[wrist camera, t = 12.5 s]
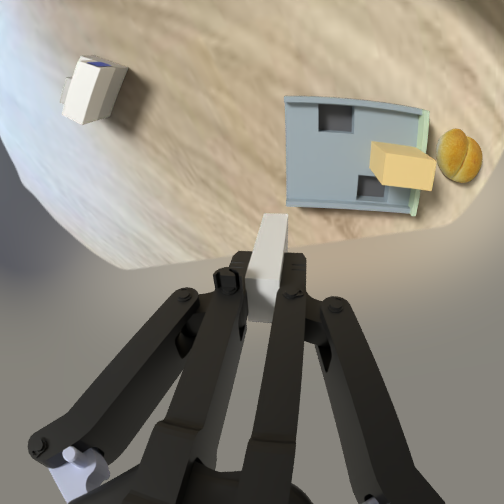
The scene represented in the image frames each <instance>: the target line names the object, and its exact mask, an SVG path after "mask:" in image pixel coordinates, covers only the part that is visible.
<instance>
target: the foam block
mask: <svg viewBox="0 0 504 504" xmlns="http://www.w3.org/2000/svg"><path fill="white" fill-rule="evenodd" d="M112 66H113V67H112ZM127 70H128V67H126V66H123V65H120V64H118V63H115V62H112V61H109V60H106V59H104V58H101V57H98V56H95V55H84V56H80V59H79V61H78V62H77V65H76V68H75V71H74V74H73V77H66V81H65V84H64V87H63V91H62V94H61V98H60V103H62V104H64V108H63V112H62V115H63V116H65V117H67V118H69V119H71V120H73V121H75V122H77V123H79V124H81V125H84V124H87V123H90V122H93V121H96V120H100V119H104V118H107V117H110V115H111V112H112V109H113V106H114V103H115V100H116V98H117V95H118V92H119V90H120V87H121V85H122V82H123V80H124V77H125V75H126V72H127ZM114 71H115V72H114ZM112 76H113V77H112ZM110 81H111V82H110ZM107 89H108V90H107Z"/></svg>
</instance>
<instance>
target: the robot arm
mask: <svg viewBox="0 0 504 504" xmlns="http://www.w3.org/2000/svg"><path fill="white" fill-rule="evenodd" d="M287 252H288V214H273V213H264V215H263V219H262V222H261V225H260V229H259V232H258V235H257V239H256V242H255V245H254V249H253V252H251V251H238V252H237V253H236V254H235V255H234V256H233V257H232V260H231V263H230V265H229V267H224V268H221V269H218V270H217V271H215V273H214V274H213V278H214V284H215V291H213V292H211V293H206V294H199V295H198V292H197V291H196V290H195V289H193V288H188V287H186V288H181V289H178V290H176V291H175V292H174V293H173V294H172V295H171V296H170V297H169V298H168V299H167V300H166V301H165V302H164V303H163V304H162V306H161V307H160V308H159V309H158V310H157V311H156V312H155V313H154V314H153V316H152V317H151V318H150V319H149V320H148V321H147V322H146V323H145V324H144V325H143V326H142V328H141V329H140V330H139V331H138V332H137V333H136V334H135V335H134V336H133V338H132V339H131V340H130V341H129V342H128V343H127V344H126V345H125V347H124V348H123V349H122V350H121V351H120V352H119V353H118V354H117V356H116V357H115V358H114V359H113V360H112V361H111V363H110V364H109V365H108V366H107V367H106V368H105V369H104V370H103V372H102V373H101V374H100V375H99V376H98V377H97V379H96V380H95V381H94V382H93V383H92V384H91V385H90V387H89V388H88V389H87V390H86V391H85V393H84V394H83V395H82V396H81V397H80V398H79V400H78V401H77V402H76V403H75V404H74V406H73V407H72V408H71V409H70V410H69V412H68V413H66V414H65V415H64V416H62V417H60V418H58V419H57V420H55V421H53V422H52V423H50V424H49V425H47V426H45V427H43V428H42V429H40V430H39V431H37V432H35V433H34V434H33V435H32V436H31V437H30V439H29V441H28V450H29V454H30V455H31V457H32V458H33V459H35V460H36V461H38V462H39V463H41V464H43V465H44V466H46V467H47V468H48V469H49V470H50V472H51V474H52V476H53V478H54V480H55V482H56V484H57V486H58V488H59V489H60V492H61V493H62V495H63V497H64V499H65V500H66V502H67V504H313V503H312V502H311V500H310V499H309V498H308V496H307V495H306V494H305V493H304V492H303V491H302V490H301V489H299V488H298V487H297V486H295V485H294V484H292V483H291V480H292V473H293V465H294V458H295V449H296V433H297V424H298V414H299V403H300V392H301V379H302V366H303V351H304V341H306V342H309V343H312V344H315V348H316V352H317V355H318V359H319V362H320V366H321V370H322V373H323V377H324V380H325V384H326V387H327V391H328V395H329V399H330V403H331V406H332V410H333V414H334V418H335V422H336V426H337V429H338V433H339V437H340V441H341V445H342V449H343V454H344V458H345V462H346V466H347V470H348V475H349V479H350V483H351V486H352V489H353V493H354V495H355V497H356V499H357V502H358V504H445V502H444V501H443V500H442V498H441V497H440V496H439V495H438V493H437V492H436V491H435V490H434V489H433V488H432V487H431V485H430V484H429V483H428V482H427V481H426V479H425V478H424V477H423V476H422V475H421V473H420V472H419V471H418V470H417V469H416V468H415V466H414V463H413V460H412V457H411V453H410V451H409V448H408V445H407V442H406V439H405V436H404V433H403V430H402V428H401V425H400V422H399V419H398V417H397V414H396V411H395V409H394V406H393V403H392V401H391V398H390V396H389V393H388V391H387V388H386V386H385V383H384V381H383V378H382V376H381V373H380V371H379V369H378V366H377V364H376V361H375V359H374V357H373V355H372V352H371V350H370V348H369V345H368V343H367V341H366V339H365V336H364V334H363V332H362V329H361V327H360V325H359V323H358V321H357V318H356V316H355V314H354V312H353V310H352V308H351V306H350V304H349V303H348V301H347V300H345V299H343V298H341V297H334V296H332V297H328V298H326V299H325V300H323V301H319V300H316V299H314V298H312V297H310V296H309V295H308V293H307V292H306V258H305V256H304V255H303V253H287ZM247 316H248V320H249V321H252V322H264V323H272V326H271V332H270V338H269V344H268V350H267V356H266V361H265V367H264V372H263V379H262V384H261V389H260V395H259V400H258V405H257V411H256V416H255V421H254V426H253V431H252V435H251V438H250V439H249V442H248V445H247V449H246V454H245V459H244V464H243V468H242V471H234V472H217V471H215V467H216V461H217V458H216V457H217V456H216V454H217V448H218V444H219V440H220V435H221V432H222V428H223V424H224V420H225V416H226V412H227V408H228V403H229V400H230V396H231V392H232V388H233V384H234V379H235V375H236V372H237V367H238V363H239V359H240V355H241V351H242V347H243V343H244V338H245V334H246V330H247V325H246V320H247ZM182 370H183V372H182ZM181 372H182V375H181V377H180V380H179V382H178V385H177V388H176V390H175V393H174V396H173V398H172V401H171V404H170V406H169V409H168V412H167V415H166V417H165V418H164V420H162V421H159V422H157V424H156V425H155V427H154V428H153V431H152V433H151V436H150V438H149V441H148V444H147V446H146V449H145V452H144V454H143V457H142V460H141V462H140V464H138V465H137V466H135V467H133V468H131V469H130V470H128V471H126V472H124V473H123V474H121V475H119V476H117V477H116V478H114V479H112V480H110V481H108V482H107V483H105V484H103V485H101V483H102V482H103V481H104V480H107V479H109V477H110V472H109V469H108V465H109V464H111V463H112V462H114V460H116V459H117V458H118V457H119V456H120V455H121V454H122V453H123V451H124V450H125V449H126V448H127V446H128V445H129V444H130V442H131V441H132V440H133V438H134V437H135V436H136V434H137V433H138V431H139V430H140V429H141V427H142V426H143V425H144V423H145V422H146V420H147V419H148V418H149V416H150V415H151V413H152V412H153V411H154V409H155V408H156V407H157V405H158V404H159V402H160V401H161V400H162V398H163V397H164V395H165V394H166V393H167V391H168V390H169V388H170V387H171V386H172V384H173V383H174V381H175V380H176V379H177V377H178V376H179V374H180V373H181ZM100 485H101V486H100Z"/></svg>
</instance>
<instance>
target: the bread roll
mask: <svg viewBox="0 0 504 504" xmlns="http://www.w3.org/2000/svg"><path fill="white" fill-rule="evenodd" d="M436 159H437V163H438V166H439V168H440V170H441V171H442V172H443V174H444V175H445V176H446V177H448V178H449V179H452V180H453V181H456V182H460V183H466V182H469V181H471V180H472V179H473V178H474V177H475V176H476V175H477V173H478V172H479V170H480V167H481V165H482V151H481V148H480V146H479V145H478V143H477V142H476V141H475V140H474V139H472V138H470V137H467V136H466V135H465V133H464V132H463V131H462V130H460V129H452V130H450V131H448V132H446V133H445V134H444V135H442V136H441V137H440V139H439V140H438V143H437V147H436Z"/></svg>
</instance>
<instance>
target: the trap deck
mask: <svg viewBox="0 0 504 504" xmlns="http://www.w3.org/2000/svg"><path fill="white" fill-rule="evenodd" d="M284 102H285V123H286V175H287V199H286V206H290V207H316V208H336V209H354V210H370V211H384V212H396V213H408V214H410V215H411V216H416V213H417V208H418V203H419V197H420V191H421V190H420V189H413V188H404V187H396V186H387V185H382V184H381V183H380V182H379V180H378V179H377V177H376V176H375V175H374V173H373V172H372V171H371V169H370V168H369V164H370V153H371V141H376V142H384V143H391V144H398V145H405V146H411V147H416V148H418V149H419V150H421V151H422V152H424V153H425V154H426V149H427V139H428V128H429V112H430V111H427V110H423V109H419V108H415V107H409V106H403V105H397V104H391V103H384V102H376V101H368V100H359V99H348V98H335V97H317V96H284Z"/></svg>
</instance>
